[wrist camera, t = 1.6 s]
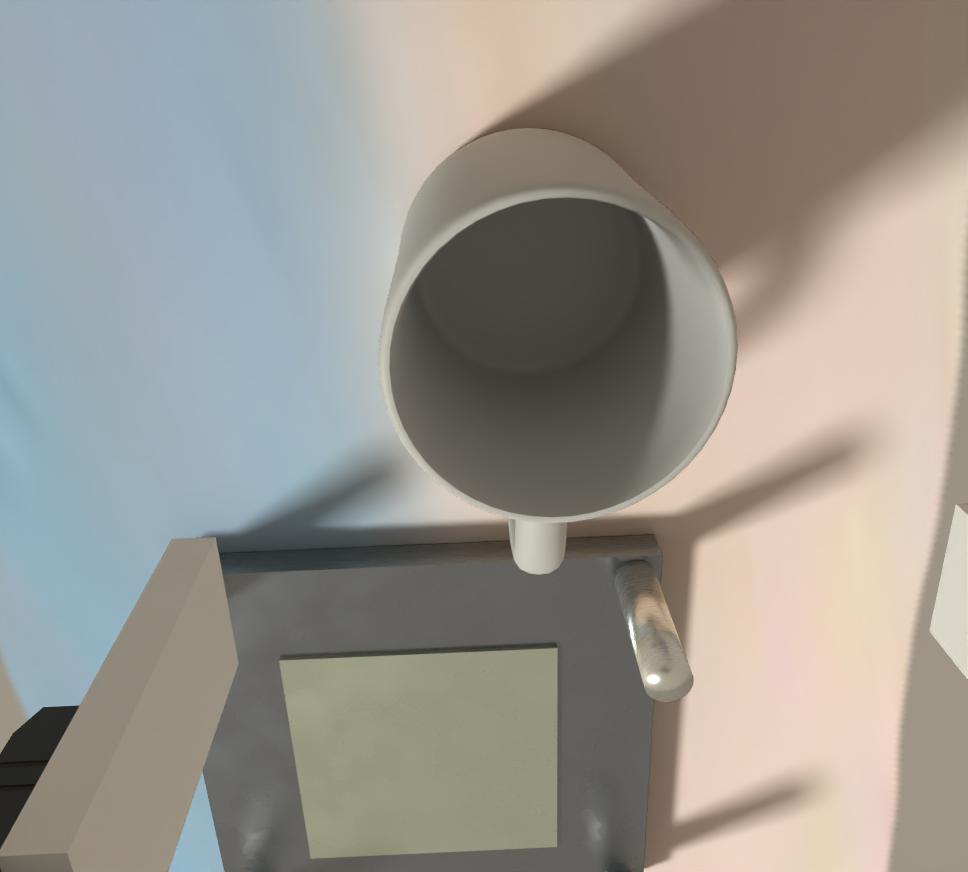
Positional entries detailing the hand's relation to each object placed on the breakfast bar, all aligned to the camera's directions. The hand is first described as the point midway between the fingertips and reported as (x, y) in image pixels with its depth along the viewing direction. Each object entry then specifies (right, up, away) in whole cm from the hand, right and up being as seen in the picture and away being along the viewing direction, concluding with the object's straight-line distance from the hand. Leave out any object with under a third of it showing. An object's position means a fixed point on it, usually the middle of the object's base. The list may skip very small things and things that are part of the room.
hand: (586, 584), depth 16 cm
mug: (0, +7, +15) cm, 17 cm away
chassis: (-4, -10, +23) cm, 26 cm away
